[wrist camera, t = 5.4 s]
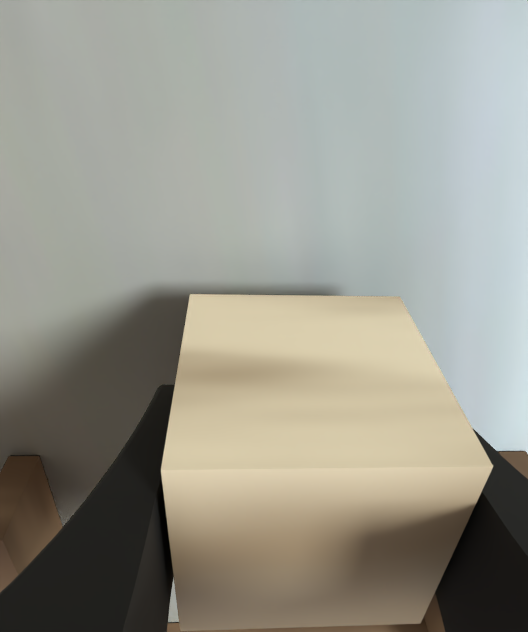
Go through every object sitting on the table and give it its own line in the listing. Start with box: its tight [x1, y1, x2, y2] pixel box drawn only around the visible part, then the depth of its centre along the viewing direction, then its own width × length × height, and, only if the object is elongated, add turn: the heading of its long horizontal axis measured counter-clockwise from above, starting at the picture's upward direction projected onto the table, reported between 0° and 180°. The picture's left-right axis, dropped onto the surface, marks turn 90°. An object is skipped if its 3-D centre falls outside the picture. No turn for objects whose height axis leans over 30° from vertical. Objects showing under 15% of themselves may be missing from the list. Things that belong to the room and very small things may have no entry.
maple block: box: [161, 294, 493, 631], centre depth 11 cm, size 5×5×5 cm
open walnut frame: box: [0, 451, 528, 632], centre depth 19 cm, size 13×18×3 cm
